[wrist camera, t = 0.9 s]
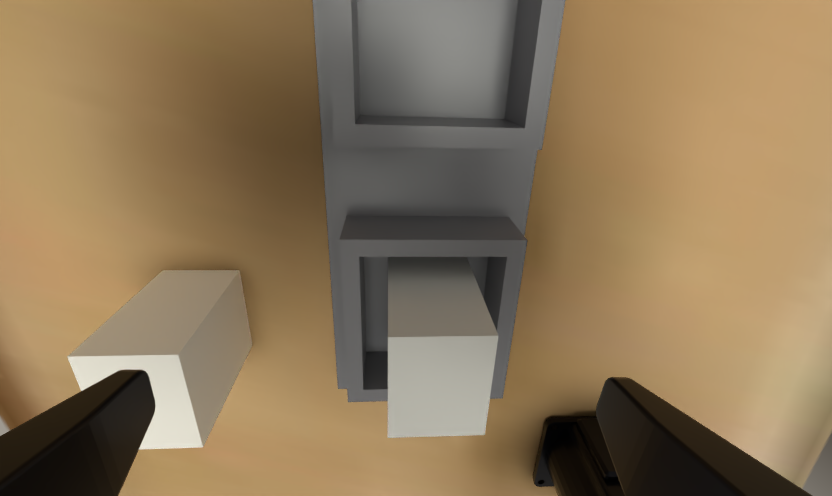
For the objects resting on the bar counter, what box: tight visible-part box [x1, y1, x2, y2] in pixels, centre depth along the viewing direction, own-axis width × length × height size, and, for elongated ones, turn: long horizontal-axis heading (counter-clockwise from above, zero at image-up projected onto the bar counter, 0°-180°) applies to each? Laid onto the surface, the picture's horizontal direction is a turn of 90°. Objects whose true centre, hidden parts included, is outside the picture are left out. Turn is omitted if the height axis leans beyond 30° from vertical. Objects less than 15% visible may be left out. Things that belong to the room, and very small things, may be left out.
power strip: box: [313, 0, 565, 402], centre depth 18 cm, size 26×10×4 cm, turn 178°
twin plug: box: [388, 257, 498, 438], centre depth 19 cm, size 5×4×7 cm
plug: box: [67, 270, 252, 449], centre depth 19 cm, size 5×4×7 cm
